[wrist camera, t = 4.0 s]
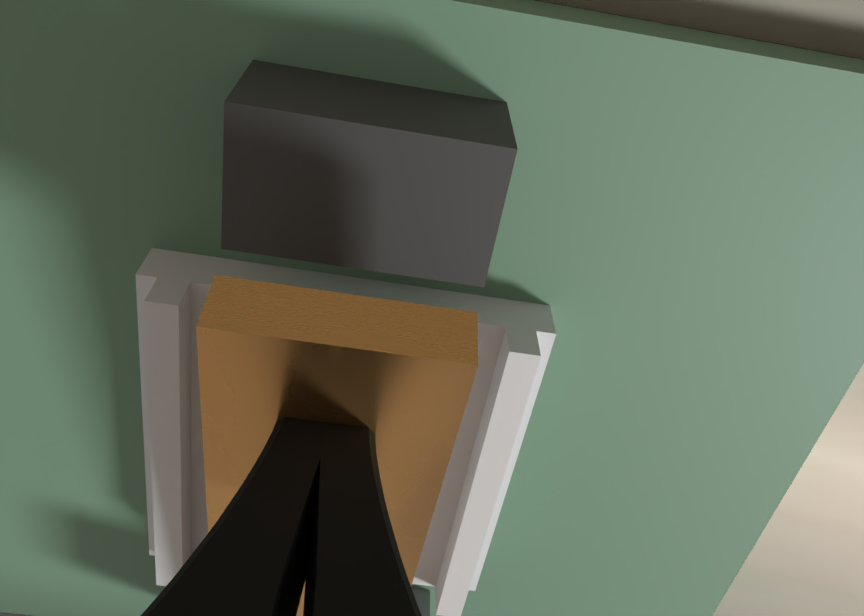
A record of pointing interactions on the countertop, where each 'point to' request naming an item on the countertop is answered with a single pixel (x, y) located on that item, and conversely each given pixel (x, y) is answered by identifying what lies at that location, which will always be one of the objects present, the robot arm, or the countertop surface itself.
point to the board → (588, 221)
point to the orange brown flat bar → (334, 387)
